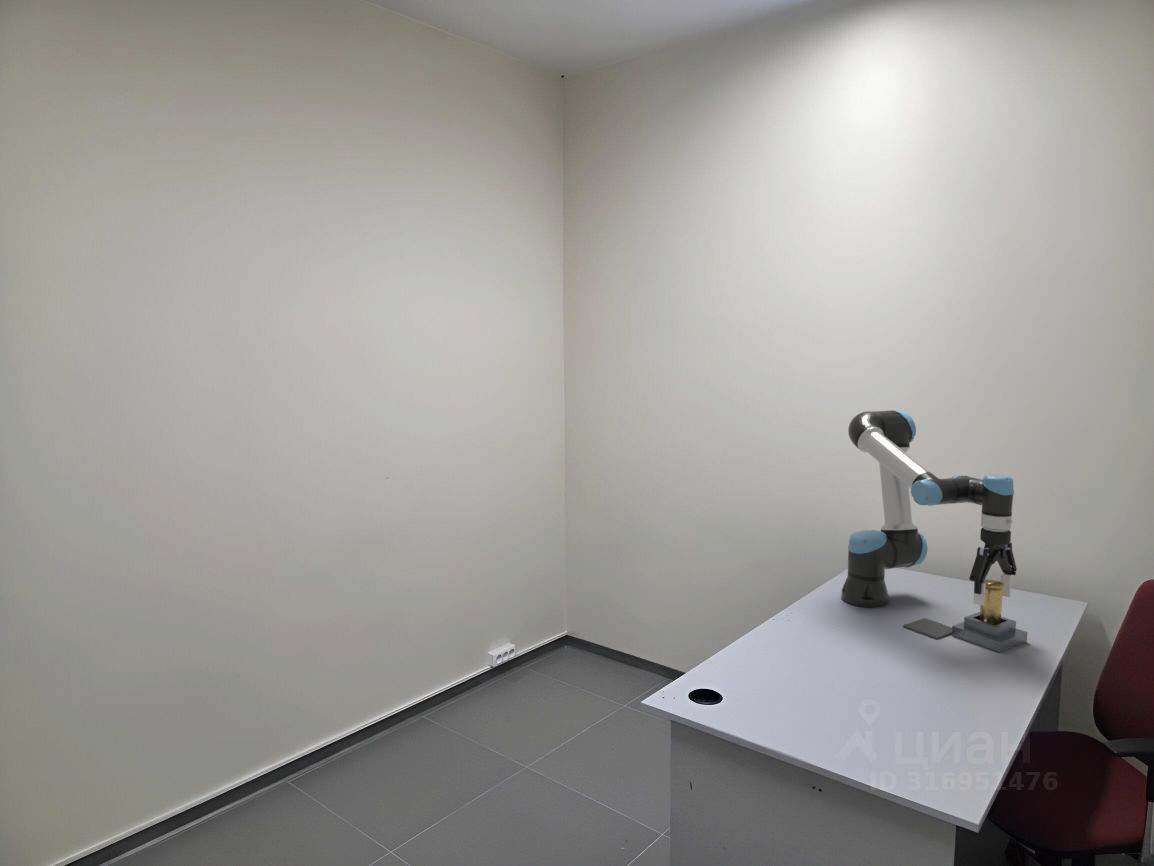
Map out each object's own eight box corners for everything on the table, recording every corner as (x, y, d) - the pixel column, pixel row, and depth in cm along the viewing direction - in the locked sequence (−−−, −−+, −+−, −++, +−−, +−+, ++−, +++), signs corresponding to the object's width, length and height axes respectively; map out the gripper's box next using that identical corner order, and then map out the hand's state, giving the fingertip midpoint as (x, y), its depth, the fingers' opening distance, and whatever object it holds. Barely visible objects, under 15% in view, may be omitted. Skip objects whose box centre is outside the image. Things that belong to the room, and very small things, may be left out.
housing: (951, 635, 206) (952, 616, 205) (978, 625, 213) (979, 607, 212) (1000, 652, 194) (1001, 632, 193) (1026, 642, 201) (1028, 622, 200)
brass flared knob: (973, 627, 204) (976, 581, 202) (984, 623, 207) (987, 578, 205) (994, 634, 199) (997, 587, 197) (1005, 630, 202) (1008, 583, 200)
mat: (902, 627, 212) (903, 625, 212) (924, 619, 218) (924, 618, 218) (936, 639, 203) (937, 637, 203) (958, 631, 208) (958, 629, 208)
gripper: (984, 537, 190) (980, 612, 192) (1032, 525, 202) (1028, 595, 204) (957, 531, 196) (954, 604, 198) (1006, 520, 209) (1002, 588, 211)
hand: (992, 600), depth 201 cm, fingers open, 13 cm apart
